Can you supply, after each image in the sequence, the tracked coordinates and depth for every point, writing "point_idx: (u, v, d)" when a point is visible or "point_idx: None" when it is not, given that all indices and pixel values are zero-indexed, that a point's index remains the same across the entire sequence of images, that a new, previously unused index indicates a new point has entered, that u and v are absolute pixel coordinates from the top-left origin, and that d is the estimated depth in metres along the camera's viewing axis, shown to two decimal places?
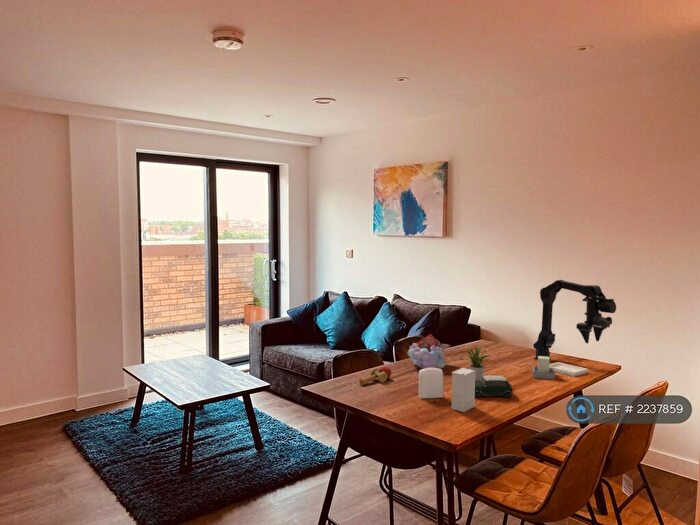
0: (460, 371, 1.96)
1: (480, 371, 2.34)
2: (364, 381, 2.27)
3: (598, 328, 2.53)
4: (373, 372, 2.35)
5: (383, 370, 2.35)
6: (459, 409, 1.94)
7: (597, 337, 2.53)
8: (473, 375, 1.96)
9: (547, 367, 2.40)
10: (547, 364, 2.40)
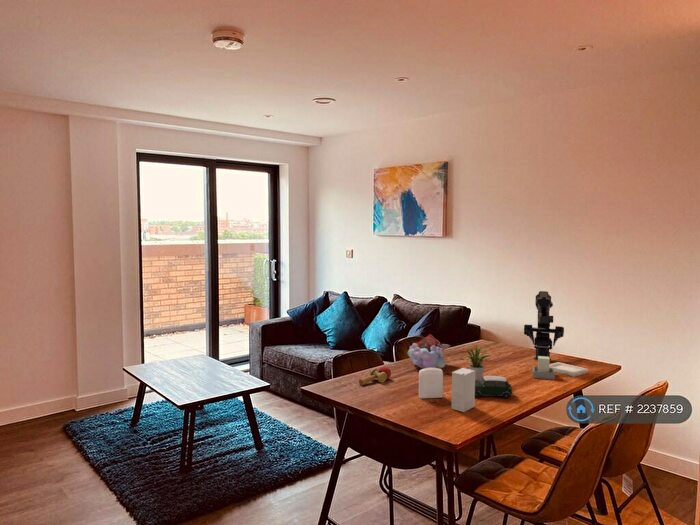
0: (460, 371, 1.96)
1: (480, 371, 2.34)
2: (363, 381, 2.27)
3: None
4: (372, 372, 2.34)
5: (383, 370, 2.35)
6: (459, 409, 1.94)
7: (553, 342, 2.49)
8: (473, 375, 1.96)
9: (547, 367, 2.40)
10: (547, 364, 2.40)
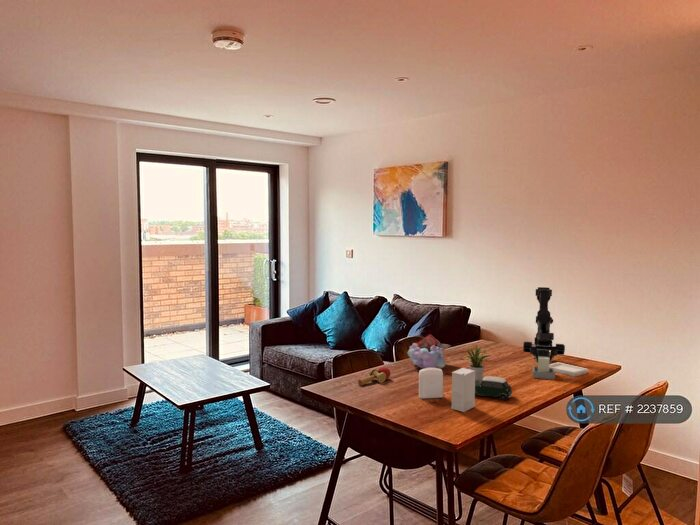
0: (460, 371, 1.96)
1: (480, 371, 2.34)
2: (363, 381, 2.26)
3: None
4: (371, 372, 2.34)
5: (382, 370, 2.34)
6: (459, 409, 1.94)
7: None
8: (473, 375, 1.96)
9: (547, 367, 2.40)
10: (547, 364, 2.40)
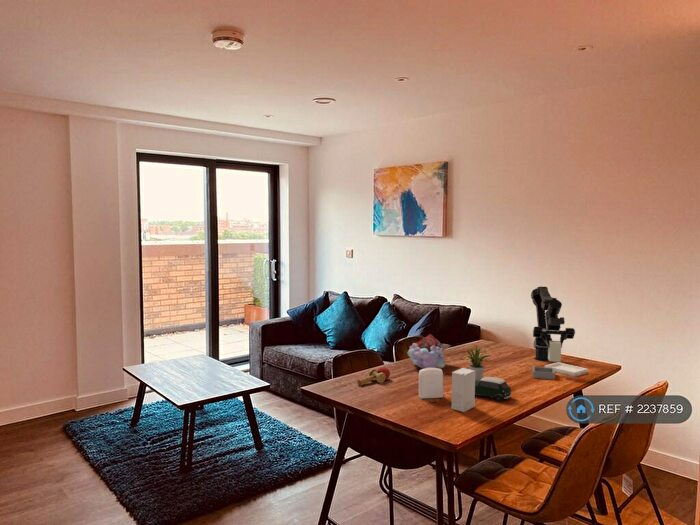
0: (460, 371, 1.96)
1: (480, 371, 2.34)
2: (362, 382, 2.26)
3: None
4: (371, 372, 2.34)
5: (381, 371, 2.34)
6: (459, 409, 1.94)
7: None
8: (473, 375, 1.96)
9: (559, 351, 2.42)
10: (559, 348, 2.42)
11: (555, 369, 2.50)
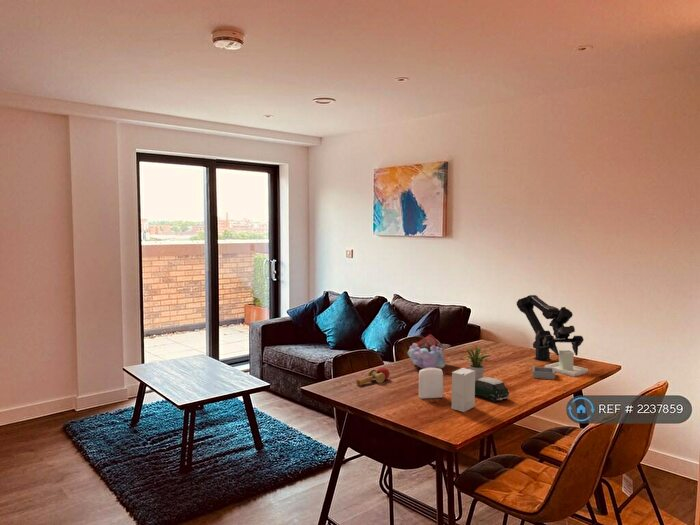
0: (460, 371, 1.96)
1: (480, 371, 2.34)
2: (361, 382, 2.26)
3: (574, 344, 2.54)
4: (370, 372, 2.34)
5: (381, 371, 2.34)
6: (459, 409, 1.94)
7: (575, 351, 2.51)
8: (473, 375, 1.96)
9: (571, 360, 2.49)
10: (571, 358, 2.49)
11: (555, 369, 2.50)
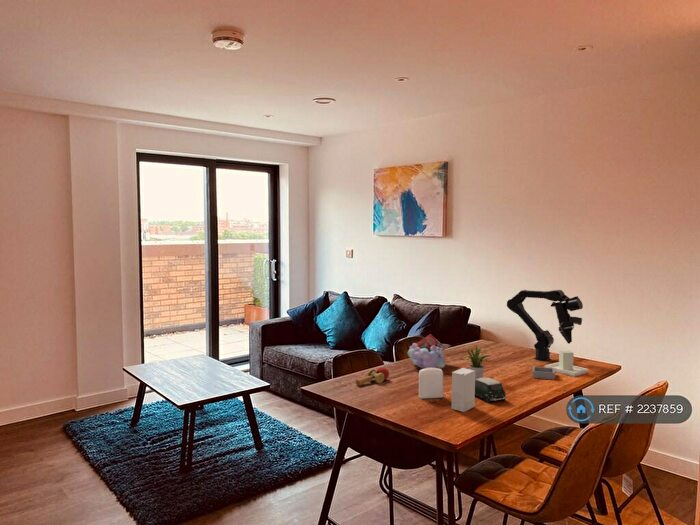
0: (460, 371, 1.96)
1: (480, 371, 2.34)
2: (360, 382, 2.26)
3: None
4: (370, 372, 2.33)
5: (380, 371, 2.33)
6: (459, 409, 1.94)
7: (568, 339, 2.66)
8: (473, 375, 1.96)
9: (571, 360, 2.49)
10: (571, 358, 2.49)
11: (555, 369, 2.50)
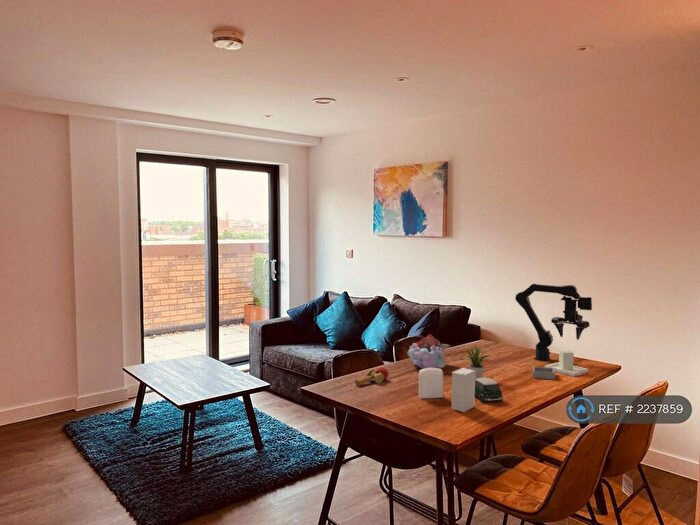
0: (460, 371, 1.96)
1: (480, 371, 2.34)
2: (360, 382, 2.25)
3: (561, 325, 2.72)
4: (369, 373, 2.33)
5: (380, 371, 2.33)
6: (459, 409, 1.94)
7: (561, 333, 2.71)
8: (473, 375, 1.96)
9: (571, 360, 2.49)
10: (571, 358, 2.49)
11: (555, 369, 2.50)
